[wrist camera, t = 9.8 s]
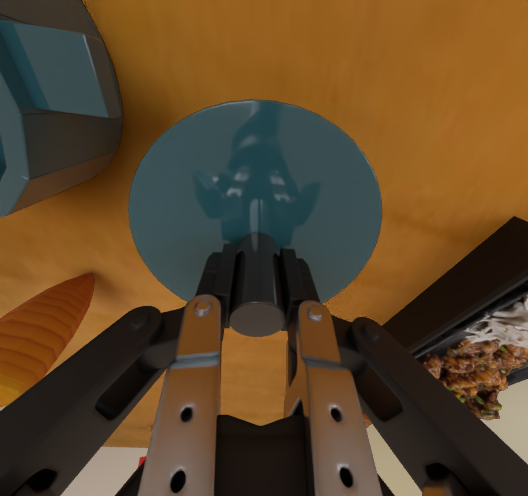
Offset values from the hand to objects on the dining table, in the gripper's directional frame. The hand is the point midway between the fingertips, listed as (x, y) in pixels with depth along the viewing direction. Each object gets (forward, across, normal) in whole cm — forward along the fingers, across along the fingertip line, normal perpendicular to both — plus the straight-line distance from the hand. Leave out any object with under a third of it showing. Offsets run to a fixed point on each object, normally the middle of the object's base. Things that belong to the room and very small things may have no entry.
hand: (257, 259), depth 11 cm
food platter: (+8, -31, +23) cm, 40 cm away
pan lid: (+2, 0, 0) cm, 2 cm away
